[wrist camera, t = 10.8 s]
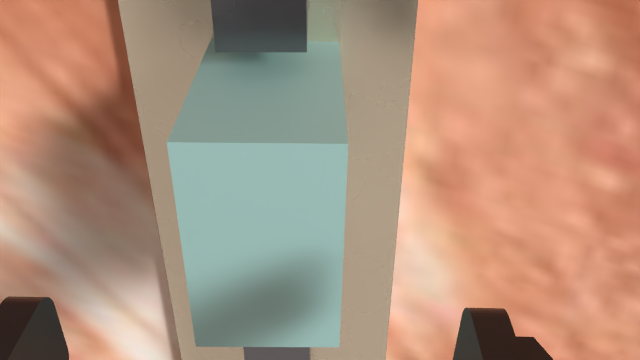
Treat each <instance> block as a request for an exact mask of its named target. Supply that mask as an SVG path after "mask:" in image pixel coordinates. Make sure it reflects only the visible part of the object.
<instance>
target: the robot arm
mask: <svg viewBox="0 0 640 360" xmlns="http://www.w3.org/2000/svg"><path fill="white" fill-rule="evenodd" d="M0 360H69V353H68V348H67V345H66V341H65V338H64V335H63V331H62V328H61V325H60V322H59V318H58V315H57V312H56V309H55V305H54V303H53V301H52V300H51V299H50V298H49V297H7V298H6V299H4V300H3V301H2V303H1V304H0ZM453 360H553V359H552V358H551V356H550V355H549V354H548V353H547V352H546V351H545V350H544V348H543V347H542V346H541V345H540V344H539V343H538V342H537V341H536V339H535V338H534V337H516V336H515V333H514V330H513V327H512V325H511V322H510V319H509V316H508V313H507V312H506V310H505V309H497V308H465V309H464V311H463V314H462V318H461V323H460V328H459V333H458V337H457V342H456V347H455V352H454V357H453Z"/></svg>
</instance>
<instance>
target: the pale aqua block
mask: <svg viewBox="0 0 640 360" xmlns="http://www.w3.org/2000/svg"><path fill="white" fill-rule="evenodd" d="M167 148H168V155H169V162H170V169H171V176H172V183H173V190H174V197H175V204H176V211H177V218H178V225H179V232H180V239H181V246H182V254H183V261H184V268H185V275H186V282H187V289H188V296H189V303H190V310H191V317H192V324H193V331H194V338H195V345H196V347H339V344H340V321H341V298H342V275H343V252H344V230H345V207H346V184H347V161H348V136H347V124H346V113H345V102H344V91H343V80H342V69H341V58H340V47H339V42H319V41H307V52H215V42H214V40H210V42H209V45H208V47H207V49H206V52H205V54H204V56H203V59H202V61H201V63H200V66H199V68H198V70H197V73H196V75H195V77H194V80H193V82H192V84H191V87H190V89H189V91H188V94H187V96H186V98H185V101H184V103H183V105H182V108H181V110H180V112H179V115H178V117H177V119H176V122H175V124H174V126H173V129H172V131H171V133H170V136H169V138H168V140H167Z"/></svg>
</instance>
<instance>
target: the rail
mask: <svg viewBox="0 0 640 360" xmlns="http://www.w3.org/2000/svg"><path fill="white" fill-rule="evenodd" d="M118 4H119V10H120V16H121V21H122V27H123V33H124V38H125V44H126V49H127V55H128V61H129V66H130V72H131V78H132V83H133V89H134V95H135V100H136V106H137V111H138V117H139V123H140V128H141V134H142V140H143V145H144V151H145V157H146V162H147V168H148V173H149V179H150V185H151V190H152V196H153V202H154V207H155V213H156V219H157V224H158V230H159V235H160V241H161V247H162V252H163V258H164V264H165V269H166V275H167V281H168V286H169V292H170V297H171V303H172V309H173V314H174V320H175V326H176V331H177V337H178V343H179V348H180V354H181V360H385V359H386V348H387V337H388V326H389V315H390V304H391V293H392V282H393V271H394V260H395V249H396V238H397V227H398V216H399V205H400V194H401V183H402V171H403V160H404V149H405V138H406V127H407V116H408V105H409V94H410V83H411V72H412V61H413V50H414V39H415V28H416V17H417V6H418V0H118ZM210 40H214V42H215V52H307V41H319V42H339V47H340V58H341V69H342V80H343V91H344V102H345V113H346V124H347V136H348V161H347V184H346V207H345V230H344V252H343V275H342V298H341V321H340V344H339V347H196V345H195V338H194V331H193V324H192V317H191V310H190V303H189V296H188V289H187V282H186V275H185V268H184V261H183V254H182V246H181V239H180V232H179V225H178V218H177V211H176V204H175V197H174V190H173V183H172V176H171V169H170V162H169V155H168V148H167V140H168V138H169V136H170V133H171V131H172V129H173V126H174V124H175V122H176V119H177V117H178V115H179V112H180V110H181V108H182V105H183V103H184V101H185V98H186V96H187V94H188V91H189V89H190V87H191V84H192V82H193V80H194V77H195V75H196V73H197V70H198V68H199V66H200V63H201V61H202V59H203V56H204V54H205V52H206V49H207V47H208V45H209V42H210Z"/></svg>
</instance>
